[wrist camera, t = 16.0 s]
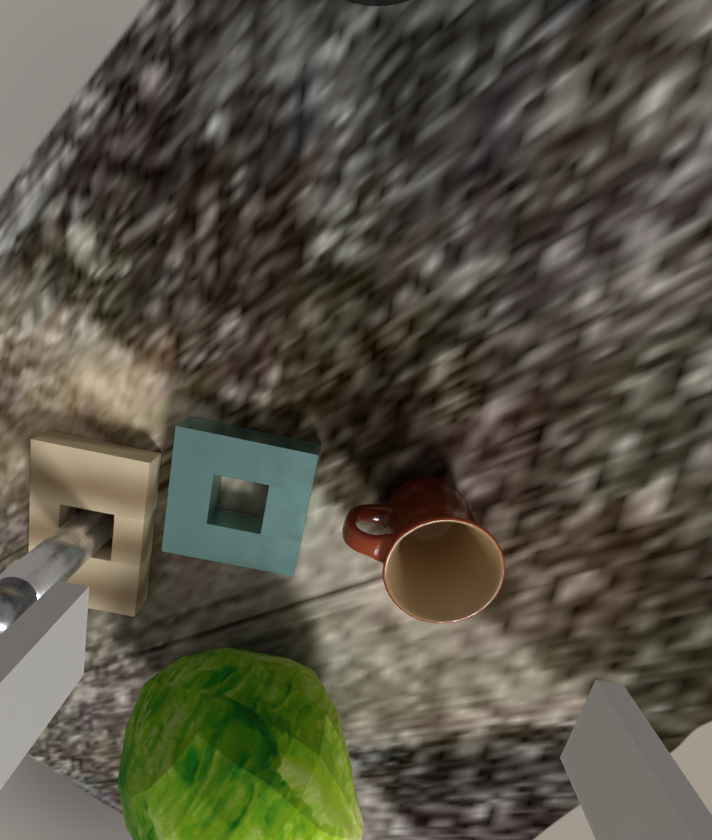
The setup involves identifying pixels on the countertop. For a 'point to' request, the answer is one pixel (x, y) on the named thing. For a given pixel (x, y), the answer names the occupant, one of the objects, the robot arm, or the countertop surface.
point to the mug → (430, 551)
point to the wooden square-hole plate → (98, 510)
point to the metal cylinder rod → (52, 562)
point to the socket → (246, 460)
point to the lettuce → (237, 754)
